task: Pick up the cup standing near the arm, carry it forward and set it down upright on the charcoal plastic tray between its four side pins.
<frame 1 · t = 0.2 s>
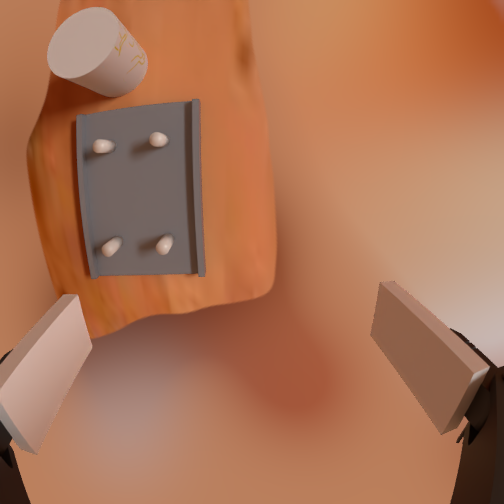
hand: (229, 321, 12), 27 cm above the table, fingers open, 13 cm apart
cup: (119, 69, 31), on the table
tray: (140, 191, 36), on the table
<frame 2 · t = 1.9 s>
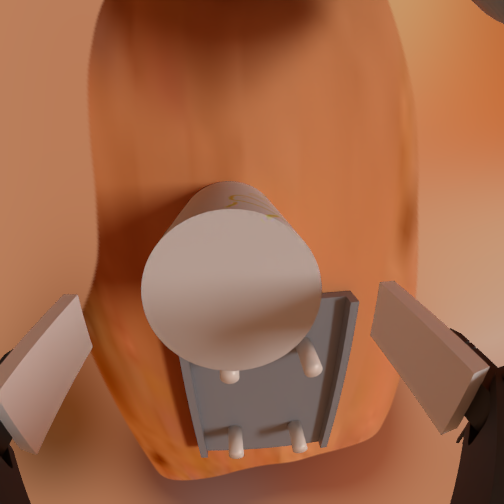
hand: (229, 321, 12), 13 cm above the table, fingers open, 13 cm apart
cup: (229, 230, 25), on the table
tray: (264, 386, 30), on the table
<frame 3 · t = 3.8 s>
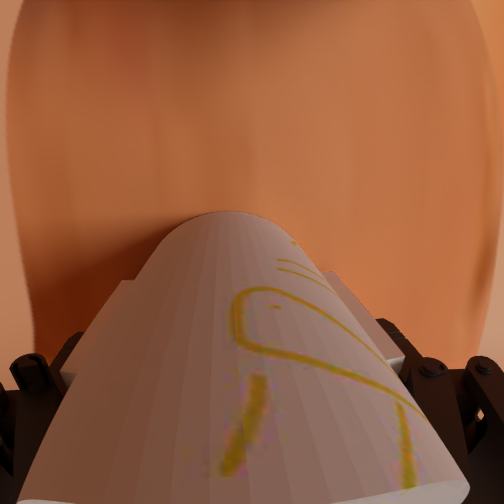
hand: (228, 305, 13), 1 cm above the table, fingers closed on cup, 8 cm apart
cup: (228, 295, 14), on the table, touching gripper
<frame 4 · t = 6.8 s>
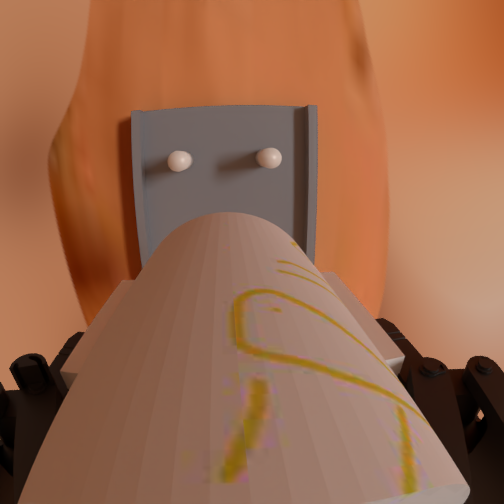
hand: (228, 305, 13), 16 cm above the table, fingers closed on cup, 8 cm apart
cup: (228, 296, 14), point 15 cm above the table, touching gripper
tray: (226, 224, 28), on the table
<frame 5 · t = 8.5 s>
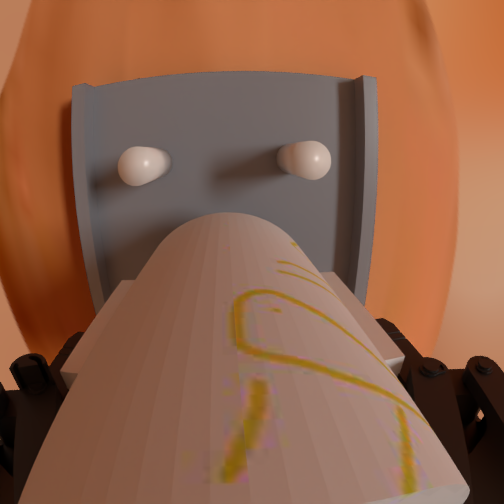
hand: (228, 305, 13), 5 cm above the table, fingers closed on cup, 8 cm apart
cup: (228, 296, 14), point 4 cm above the table, touching gripper
tray: (227, 265, 18), on the table
when the fingers open (3 cm above the table, at t = 9.8 s): cup drops 1 cm, resting on tray.
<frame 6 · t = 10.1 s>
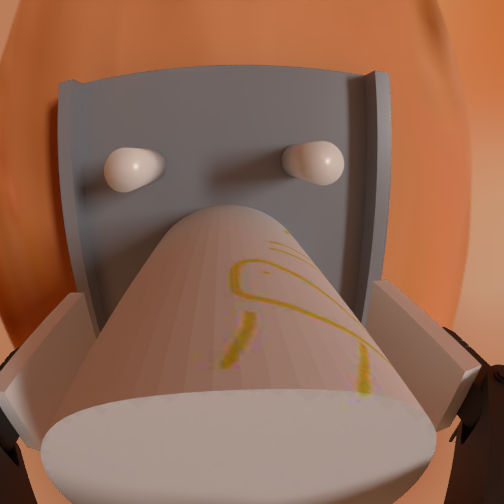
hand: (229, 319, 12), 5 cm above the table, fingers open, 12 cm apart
cup: (227, 281, 16), point 1 cm above the table, touching tray
tray: (227, 277, 17), on the table
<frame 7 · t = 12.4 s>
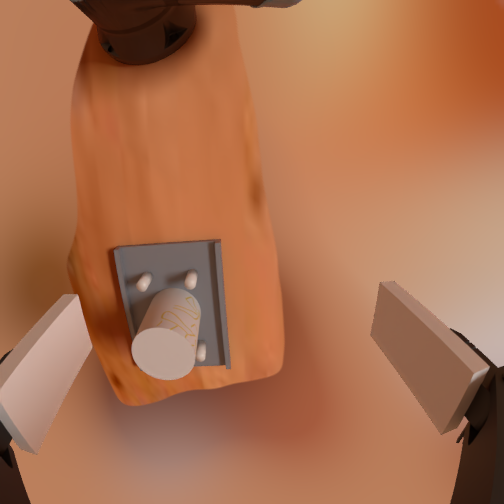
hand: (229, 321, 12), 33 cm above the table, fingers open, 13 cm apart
cup: (175, 311, 46), point 1 cm above the table, touching tray
tray: (176, 309, 47), on the table
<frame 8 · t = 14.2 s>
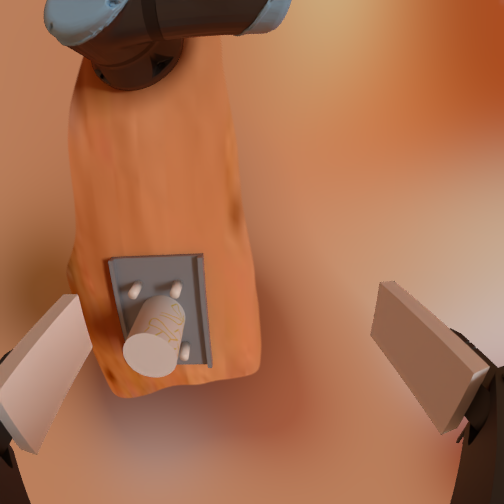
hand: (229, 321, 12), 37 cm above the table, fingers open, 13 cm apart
cup: (163, 315, 51), point 1 cm above the table, touching tray
tray: (163, 313, 52), on the table
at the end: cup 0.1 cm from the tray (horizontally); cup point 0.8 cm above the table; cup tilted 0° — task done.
